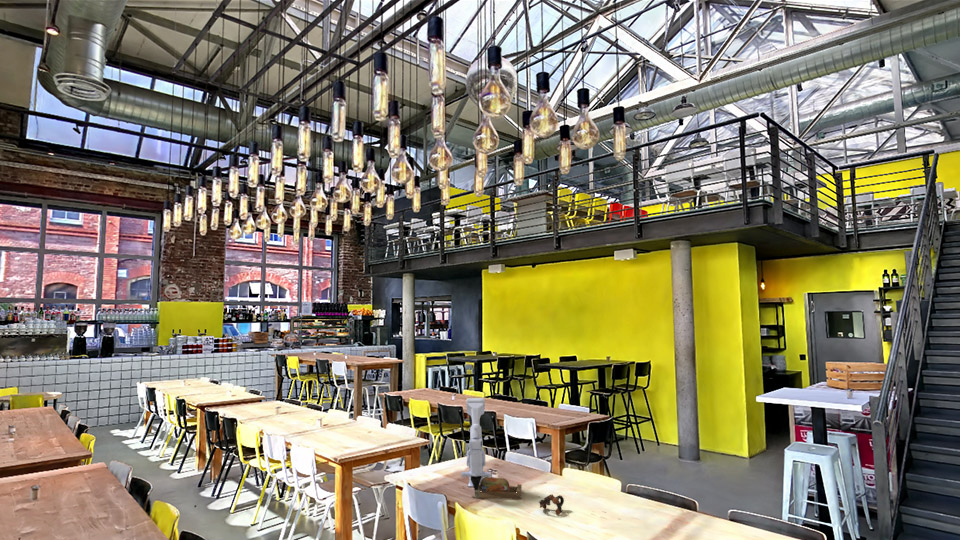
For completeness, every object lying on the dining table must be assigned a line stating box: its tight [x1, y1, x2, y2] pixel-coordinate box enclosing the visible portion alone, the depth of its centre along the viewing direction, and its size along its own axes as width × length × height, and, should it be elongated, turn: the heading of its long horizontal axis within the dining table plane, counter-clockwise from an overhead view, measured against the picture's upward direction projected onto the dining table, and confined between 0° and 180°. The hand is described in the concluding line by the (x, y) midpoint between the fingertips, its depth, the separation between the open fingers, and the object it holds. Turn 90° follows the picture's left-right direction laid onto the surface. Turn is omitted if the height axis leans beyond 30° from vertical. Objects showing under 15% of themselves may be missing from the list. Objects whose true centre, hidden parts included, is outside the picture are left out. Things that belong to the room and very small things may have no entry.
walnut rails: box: [474, 483, 523, 500], centre depth 258 cm, size 11×22×4 cm, turn 83°
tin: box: [480, 476, 510, 492], centre depth 258 cm, size 15×3×8 cm, turn 65°
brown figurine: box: [538, 493, 565, 516], centre depth 235 cm, size 12×10×8 cm
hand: (476, 491), depth 259 cm, fingers closed
